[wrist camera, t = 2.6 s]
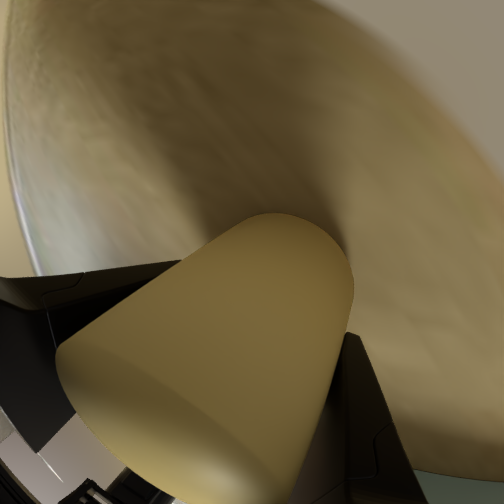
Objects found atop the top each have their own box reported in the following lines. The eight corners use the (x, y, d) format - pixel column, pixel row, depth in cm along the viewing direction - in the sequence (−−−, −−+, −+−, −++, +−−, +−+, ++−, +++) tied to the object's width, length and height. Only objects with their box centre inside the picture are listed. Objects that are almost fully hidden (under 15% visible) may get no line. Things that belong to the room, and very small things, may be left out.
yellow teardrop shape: (322, 363, 11) (248, 532, 5) (205, 311, 12) (81, 432, 6) (378, 247, 9) (344, 465, 3) (228, 192, 10) (32, 284, 4)
